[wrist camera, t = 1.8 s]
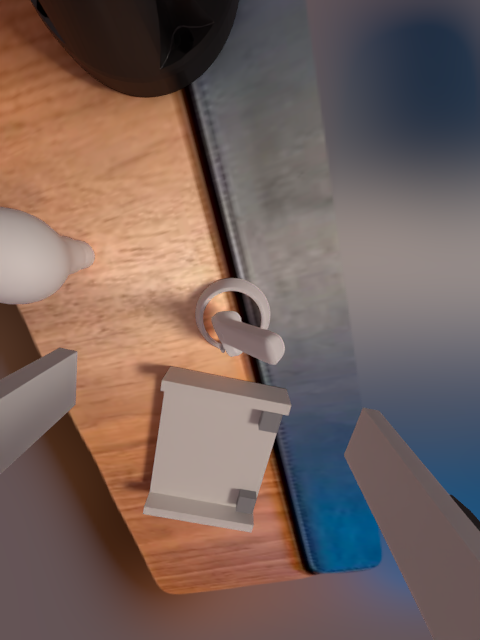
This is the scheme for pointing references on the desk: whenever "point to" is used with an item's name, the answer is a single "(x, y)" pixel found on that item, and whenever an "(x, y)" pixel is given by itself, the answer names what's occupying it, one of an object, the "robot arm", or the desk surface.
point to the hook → (240, 324)
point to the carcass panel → (213, 448)
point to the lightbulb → (35, 258)
